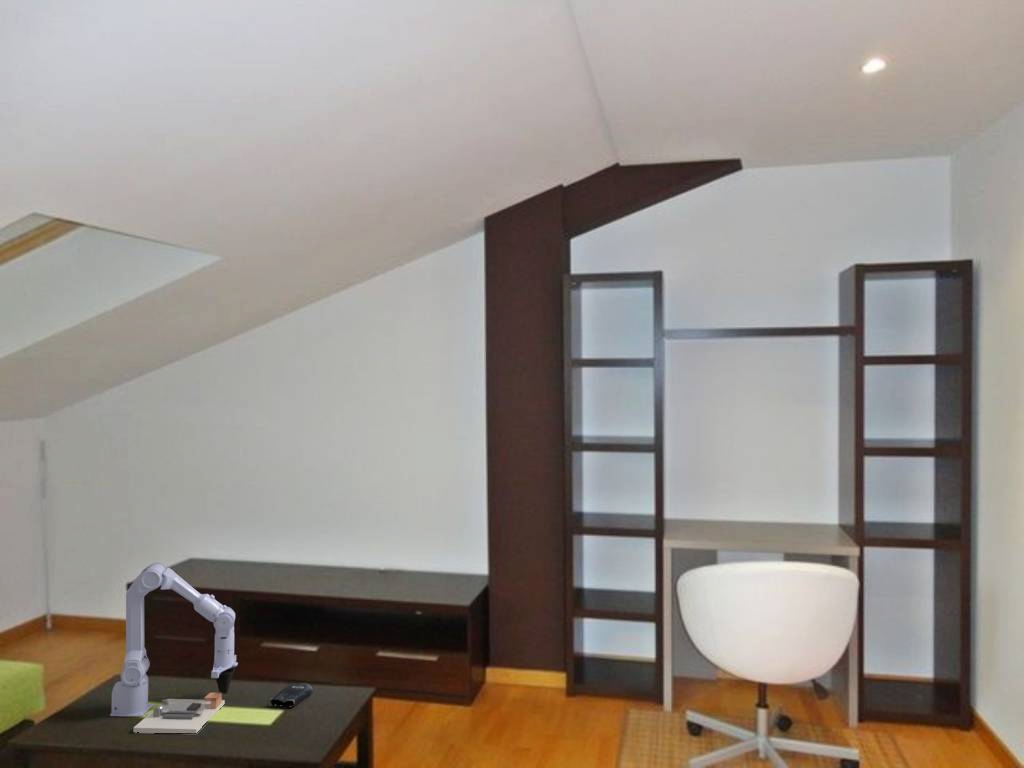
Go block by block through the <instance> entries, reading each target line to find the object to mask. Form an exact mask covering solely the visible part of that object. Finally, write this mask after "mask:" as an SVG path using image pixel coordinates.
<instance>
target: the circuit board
mask: <svg viewBox="0 0 1024 768" xmlns="http://www.w3.org/2000/svg"><path fill="white" fill-rule="evenodd" d="M225 701H226V700H225V699H222V700H221V704H220V705H219V706H218V707H217V708H210V705H211V701H205V699H194V698H193V699H191V698H190V699H189V698H187V699H186V698H183V699H182V698H180V699H179V698H167V699H162V701H161V704H163V703H166V704H183V705H191V704H192V703H201V705H205V706H207V709H206V710H205V711H204V712H203V713H202V714H190V713H168V712H160V707H159V706H160V705H161V704H160V705H158V706H153V708H152V709H153V711H151V712H150V713H149V714H147V715H146V716H145V717H144V718H143V719H142V720H141V721H139V723H137V724H135V726H133V731H132V733H133V732H135V733H134V734H154V733H197V732H198V731H199V730H200V729H201V728H202V726H203V725H204V724H205V723H206V722H207V721H208V720H209V719H210V718H211V717H212V716H213V715H214V714H215V713H216V711H218V710H219V709H220V708H221V707H222V706H223V705H224V704H226V703H225ZM224 706H225V705H224ZM224 706H223V707H224ZM223 707H222V708H223ZM222 708H221V709H222ZM221 709H220V710H221ZM220 710H219V711H220ZM219 711H218V712H219ZM216 714H217V713H216ZM202 729H203V728H202ZM202 729H201V730H202ZM201 730H200V731H201ZM200 731H199V732H200ZM137 732H139V733H137ZM199 732H198V733H199ZM198 733H197V734H198Z"/></svg>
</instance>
